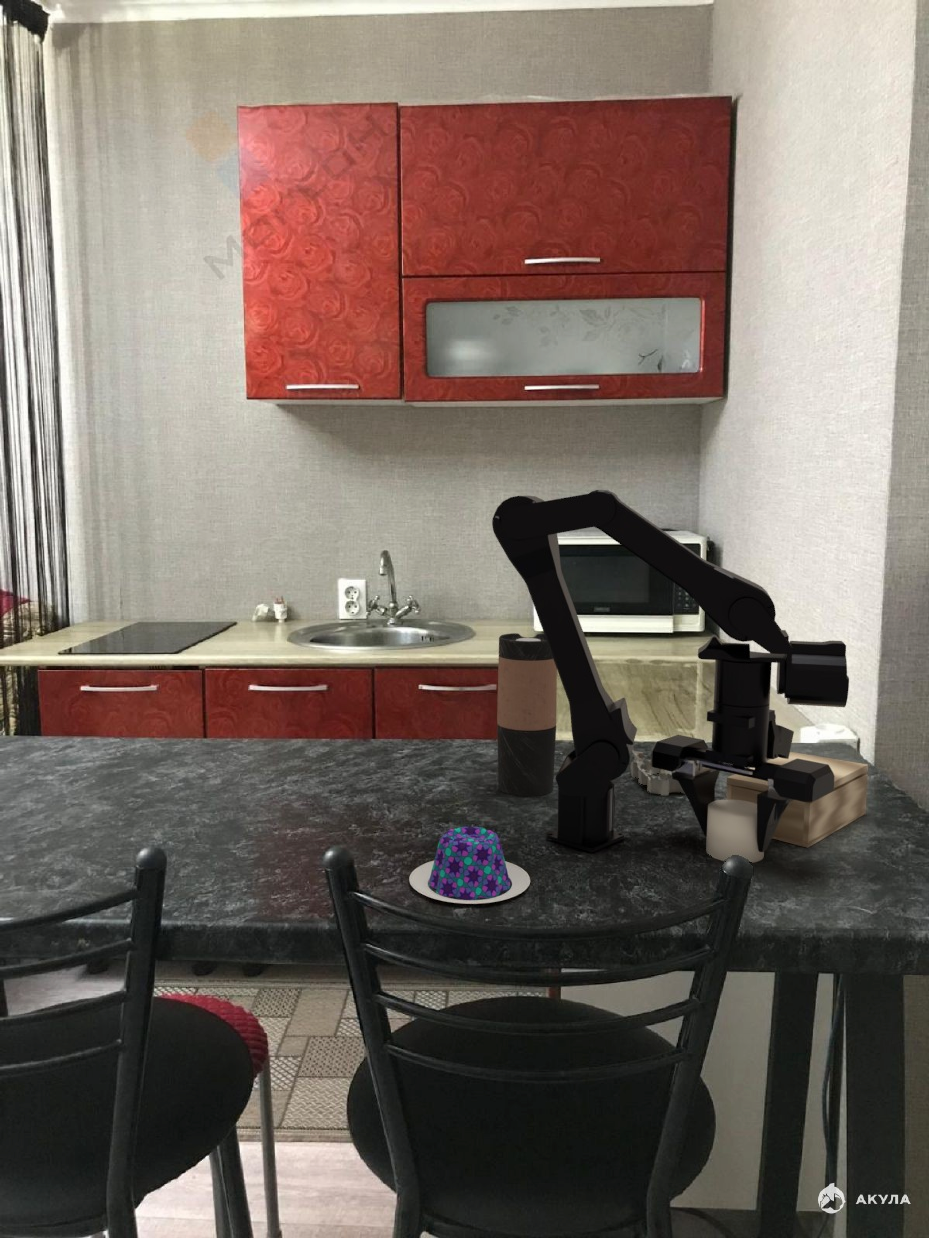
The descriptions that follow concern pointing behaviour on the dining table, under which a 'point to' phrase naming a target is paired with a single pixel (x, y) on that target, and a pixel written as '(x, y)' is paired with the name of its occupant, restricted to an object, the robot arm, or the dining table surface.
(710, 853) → the beige tapered cylinder
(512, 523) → the robot arm
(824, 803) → the storage box
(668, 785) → the egg carton
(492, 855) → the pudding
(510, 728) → the travel mug
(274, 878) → the dining table surface
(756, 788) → the box lid
